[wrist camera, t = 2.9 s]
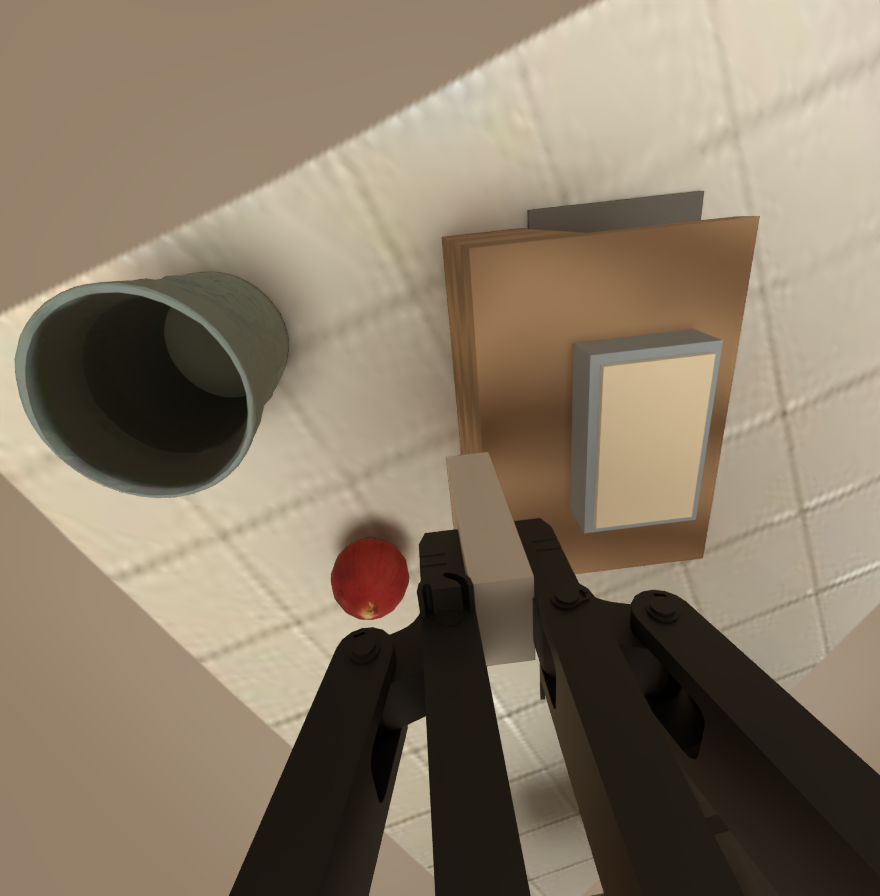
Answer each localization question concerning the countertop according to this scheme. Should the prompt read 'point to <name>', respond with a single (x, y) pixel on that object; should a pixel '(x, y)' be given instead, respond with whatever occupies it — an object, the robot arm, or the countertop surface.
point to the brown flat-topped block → (551, 355)
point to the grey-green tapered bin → (152, 379)
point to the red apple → (369, 578)
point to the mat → (619, 213)
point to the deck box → (641, 428)
